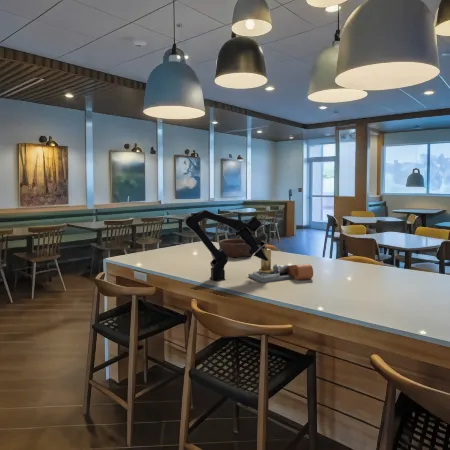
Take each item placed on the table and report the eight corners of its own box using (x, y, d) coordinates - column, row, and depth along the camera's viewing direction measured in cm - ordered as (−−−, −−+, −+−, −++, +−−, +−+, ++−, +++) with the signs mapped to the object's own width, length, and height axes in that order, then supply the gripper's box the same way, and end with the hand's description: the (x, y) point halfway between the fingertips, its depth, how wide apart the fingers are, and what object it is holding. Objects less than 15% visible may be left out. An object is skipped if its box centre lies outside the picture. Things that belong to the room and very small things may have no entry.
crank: (313, 280, 201) (313, 265, 200) (299, 281, 198) (299, 266, 197) (295, 272, 220) (295, 258, 219) (282, 273, 217) (282, 259, 216)
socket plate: (261, 282, 196) (261, 269, 195) (248, 276, 208) (248, 264, 208) (294, 278, 204) (294, 265, 203) (279, 273, 217) (279, 260, 216)
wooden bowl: (244, 260, 254) (244, 245, 253) (212, 257, 266) (212, 242, 265) (260, 254, 275) (260, 240, 274) (230, 251, 288) (229, 237, 287)
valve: (257, 272, 202) (258, 246, 201) (260, 269, 209) (260, 244, 208) (273, 273, 200) (273, 247, 198) (275, 270, 207) (275, 245, 205)
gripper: (255, 229, 194) (276, 252, 192) (262, 225, 212) (281, 246, 210) (240, 244, 197) (261, 266, 195) (248, 239, 215) (267, 259, 213)
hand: (268, 259), depth 203 cm, fingers closed on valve, 5 cm apart
